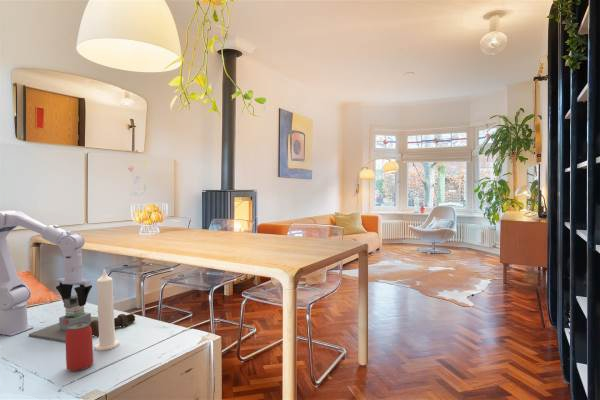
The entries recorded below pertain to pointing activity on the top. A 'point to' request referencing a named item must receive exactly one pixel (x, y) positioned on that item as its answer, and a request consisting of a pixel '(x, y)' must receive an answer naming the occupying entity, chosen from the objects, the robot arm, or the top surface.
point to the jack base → (61, 327)
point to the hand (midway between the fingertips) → (74, 304)
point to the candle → (106, 313)
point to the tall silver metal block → (73, 307)
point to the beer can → (79, 346)
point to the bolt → (119, 321)
